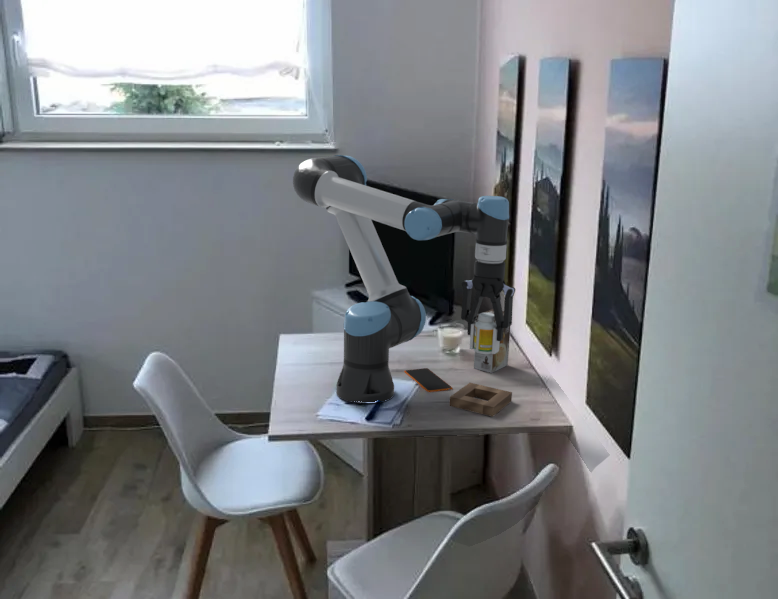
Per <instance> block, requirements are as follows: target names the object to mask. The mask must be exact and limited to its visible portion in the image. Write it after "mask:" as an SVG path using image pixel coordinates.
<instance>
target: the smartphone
mask: <svg viewBox="0 0 778 599" xmlns="http://www.w3.org/2000/svg"><path fill="white" fill-rule="evenodd" d="M403 373H405V375H407V376H408V377H409V378H411V379H412V381H414V380H415V381H416V382H417V383H418V384H419V385H418V384H417V383H416V382H415V381H414V382H415V383H416V384H417V385H418V386H419V387H421V388H422V389H423V390H424V391H425V392H426V393H437V392H444V391H445V392H446V391H449V390H450V391H451V390H453V386H451V385H450V384H449V383H447V382H446V381H445V380H444V379H443V378H441V377H440V376H438V375H437V374H436V373H435V372H433V371H432V370H431V369H429V368H428V367H424V368H423V367H422V368H414V369H406V370H404V372H403Z"/></svg>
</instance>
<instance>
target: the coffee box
mask: <svg viewBox="0 0 778 599" xmlns="http://www.w3.org/2000/svg"><path fill="white" fill-rule="evenodd" d="M502 312H503V317H504V310H502ZM483 313H492V314H494V311H493V308H491V309H490V310H486V311H484V312H483ZM478 316H479V314H477V317H476V319H477V320H476V321H475V322H478V321H479V320H478ZM493 322H494V323H495V324H496V321H495V320H494V321H493ZM510 336H511V326H509V327H507V328H504V334H503V340H501V341H500V343H499V352H497V353H496V354H492V353H491V354H480V353H477V352H475V351H474V357H473V369H476V370H478V371H483V372H486V373H489V372H490V373H489V374H493V373H495V372H497V371H499V370H500V369H503V368H505V367H507V366H508V365H509V350H510Z"/></svg>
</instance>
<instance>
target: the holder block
mask: <svg viewBox="0 0 778 599" xmlns="http://www.w3.org/2000/svg"><path fill="white" fill-rule="evenodd" d="M512 399H513V392H512V391H509V390H503V389H499V388H495V387H491V386H486V385H482V384H477V383H473V382H469V383H467V384H466V385H464V386H463V387H461V388H460V389H459V390H457V391H456V392H455V393H453V394H451V395H450V396H449V404H448V405H449V407H452V408H455V409H460V410H465V411H469V412H472V413H477V414H481V415H483V416H489V417H494V416H496V415H497V414H498V413H499V412H500V411H502V410H503V409H504V408H505V407H506V406H508V404H510V403H512Z"/></svg>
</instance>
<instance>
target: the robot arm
mask: <svg viewBox="0 0 778 599" xmlns="http://www.w3.org/2000/svg"><path fill="white" fill-rule="evenodd" d="M367 181H368V176H367V172H366V169H365V167H364V166H363V164H362V163H361V162H360V161H359V160H358V159H356V158H355V157H353V156H350V155H342V154H336V155H333V156H332V155H331V156H323V157H313V158H308V159H306V160H304V161H301V163H300V164H298V165H297V167H296V169H294V172H293V176H292V185H293V189H294V192H295V193H296V195H297V196H298V197H299V198H300V199H301V200H302V201H304V202H306V203H308V204H310V205H313V206H318V207H320V208H325V209H326V212H327V213H329V214H331V215H334V216H335V218H336V221H337V224H338V226H339V227H340V230H341V232H342V235H343V237H344V240H345V242H346V244H347V246H348V249H349V251H350V253H351V256H352V258H353V260H354V263H355V265H356V269H357V271H358V272H359V275H360V277H361V279H362V282H363V284H364V287H365V290H366V291H367V294H368V300H367V301H366V302H358V303H354V304H353V305H351V306H350V307H348V308H347V310H346V312H345V314H344V321H343V366H342V367H341V370H340V374H339V375H338V376H339V377H338V379H337V382H336V387H335V390H336V395H337V397H339V398H340V399H341V400H344V401H346V402H349V401H352V402H351V403H353V402H354V401H355V402H356V401H357V402H358V401H360V402H361V401H362V402H375V401H377V400H380V401H384V402H386V401H385V400H387V401H389V400H391V399H392V398H393V397H394V396H395V384H394V381H393V377H392V376H393V375H392V373H391V370H390V369H391V368H390V367H389V363H390V362H389V360H390V359H389V358H390V356H389V355H390V349H391V348H394V347H396V346H399V345H401V344H405V343H407V342H409V341H411V340H413V339H414V338H416V337H418V336H419V335H420V334H421V333H422V331H423V330H424V329H425V328H424V327H425V325H426V322H427V321H426V320H427V315H426V309H425V307H424V305H423V303H422V302H421V301H420V300H419V299H418V298H416V297H415V296H413V295H410V292H409V291H408V288H407V286H405V285H402V284H400V283H399V281H398V278H397V277H396V275H395V272H394V270H393V267H392V265H391V263H390V261H389V258H388V256H387V253H386V251H385V249H384V247H383V245H382V242H381V239H380V237H379V235H378V233H377V230H376V227H375V225H374V223H373V221H375V222H378V223H380V224H383V225H387V226H389V227H392V228H396V229H399V230H402V231H405V232H406V233H407V235H408V236H409V237H410V238H411V239H413V240H416V241H428V240H432V239H435V238H437V237H441V236H445V235H450V234H452V233H457V232H461V233H465V234H466V233H468V234H471V235H472V234H473V235H475V248H474V249H475V251H474V257H475V261H474V264H473V265H474V266H473V278H472V279H471V280H469V279H466V280H464V281H462V282H461V287H462V291H463V292H462V302H461V314H460V319H461V320H463V321H466V322H467V332H466V333H467V335H468V336H470V338H469V350H474V334H475V324H476V320H477V315H479V313H480V308H481V305H482V304H483V299H484V298H485V297H486V298H488V299H490V303H491V305H492V309H493V311H494V316H495V321H496V327H495V328H494V329H493V344H492V354H496V353H497V352H499V343H500V341H501V340H503V334H504V328H507V327H509V326H510V327H511V326H512V325H513V309H514V308H513V306H514V305H513V304H514V295H515V293H516V288H515V287H514V286H513V287H510V286H508V285H506V281H505V274H506V262H505V260H506V259H507V246H508V244H507V243H508V232H509V231H508V229H509V228H508V227H509V220H510V202H509V200H508V198H506V197H504V196H497V195H483V196H480V197H479V198H478V202H469V201H463V200H462V201H461V200H456V199H453V198H449V199H447V198H440V199H437V201H436V202H435V203H434V204H433V205H430V204H426V203H423V202H419V201H416V200H413V199H410V198H407V197H403V196H400V195H398V194H393V193H392V192H388V191H384V190H382V189H378V188H375V187H371V186H369V185H367ZM473 288H474V289H475V291H476V293H475V295H474V300H473V303H472V306H471V301H472V289H473ZM502 292H503V294H504V300H503V301H504V304H503V306H502V303H501V299H502V298H501V293H502ZM503 308H504V309H503ZM502 311H504V317H503V312H502ZM393 395H394V396H393ZM392 396H393V397H392ZM391 397H392V398H391ZM390 398H391V399H390ZM388 399H389V400H388Z"/></svg>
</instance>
